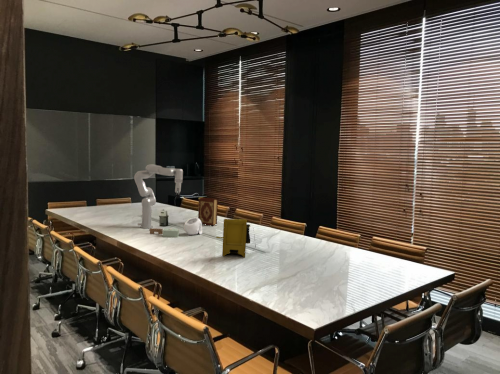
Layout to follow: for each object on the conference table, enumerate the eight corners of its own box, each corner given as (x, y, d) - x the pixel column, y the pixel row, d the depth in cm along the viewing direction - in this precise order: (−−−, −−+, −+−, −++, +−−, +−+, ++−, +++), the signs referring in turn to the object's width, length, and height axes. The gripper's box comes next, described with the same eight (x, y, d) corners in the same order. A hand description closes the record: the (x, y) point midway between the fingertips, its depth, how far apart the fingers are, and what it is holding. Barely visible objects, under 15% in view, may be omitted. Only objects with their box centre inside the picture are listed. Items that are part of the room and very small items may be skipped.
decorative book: (196, 223, 440) (197, 197, 438) (200, 223, 447) (201, 197, 445) (213, 226, 430) (214, 199, 427) (216, 225, 437) (218, 199, 434)
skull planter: (208, 231, 388) (202, 215, 380) (195, 243, 375) (189, 227, 367) (198, 229, 397) (193, 214, 388) (185, 241, 383) (179, 225, 375)
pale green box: (162, 236, 364) (162, 229, 363) (164, 234, 374) (164, 227, 373) (177, 237, 365) (177, 229, 364) (178, 235, 375) (179, 227, 374)
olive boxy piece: (254, 253, 316) (256, 217, 314) (255, 258, 302) (257, 220, 300) (216, 252, 315) (217, 215, 313) (215, 256, 301) (216, 218, 299)
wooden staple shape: (149, 234, 371) (149, 229, 371) (150, 233, 376) (150, 228, 376) (161, 234, 372) (162, 229, 372) (162, 233, 377) (162, 228, 377)
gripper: (175, 180, 400) (174, 196, 401) (174, 181, 382) (173, 198, 384) (182, 180, 400) (182, 197, 402) (181, 181, 383) (181, 199, 385)
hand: (177, 197), depth 393 cm, fingers open, 9 cm apart
